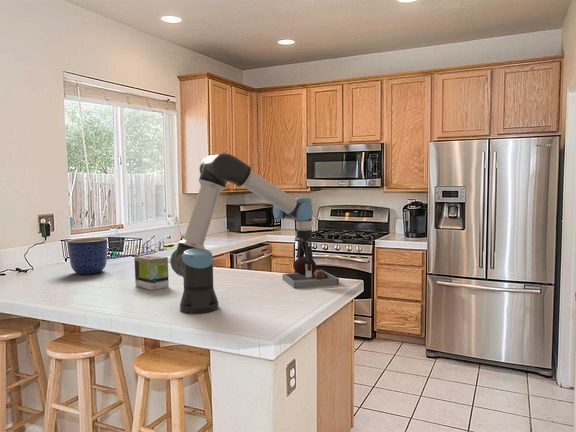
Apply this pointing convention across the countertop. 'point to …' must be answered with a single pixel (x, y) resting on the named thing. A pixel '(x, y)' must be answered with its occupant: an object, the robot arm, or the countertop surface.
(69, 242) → the planter
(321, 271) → the walnut block
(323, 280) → the tray
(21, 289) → the countertop surface
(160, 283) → the tea box
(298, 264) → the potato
